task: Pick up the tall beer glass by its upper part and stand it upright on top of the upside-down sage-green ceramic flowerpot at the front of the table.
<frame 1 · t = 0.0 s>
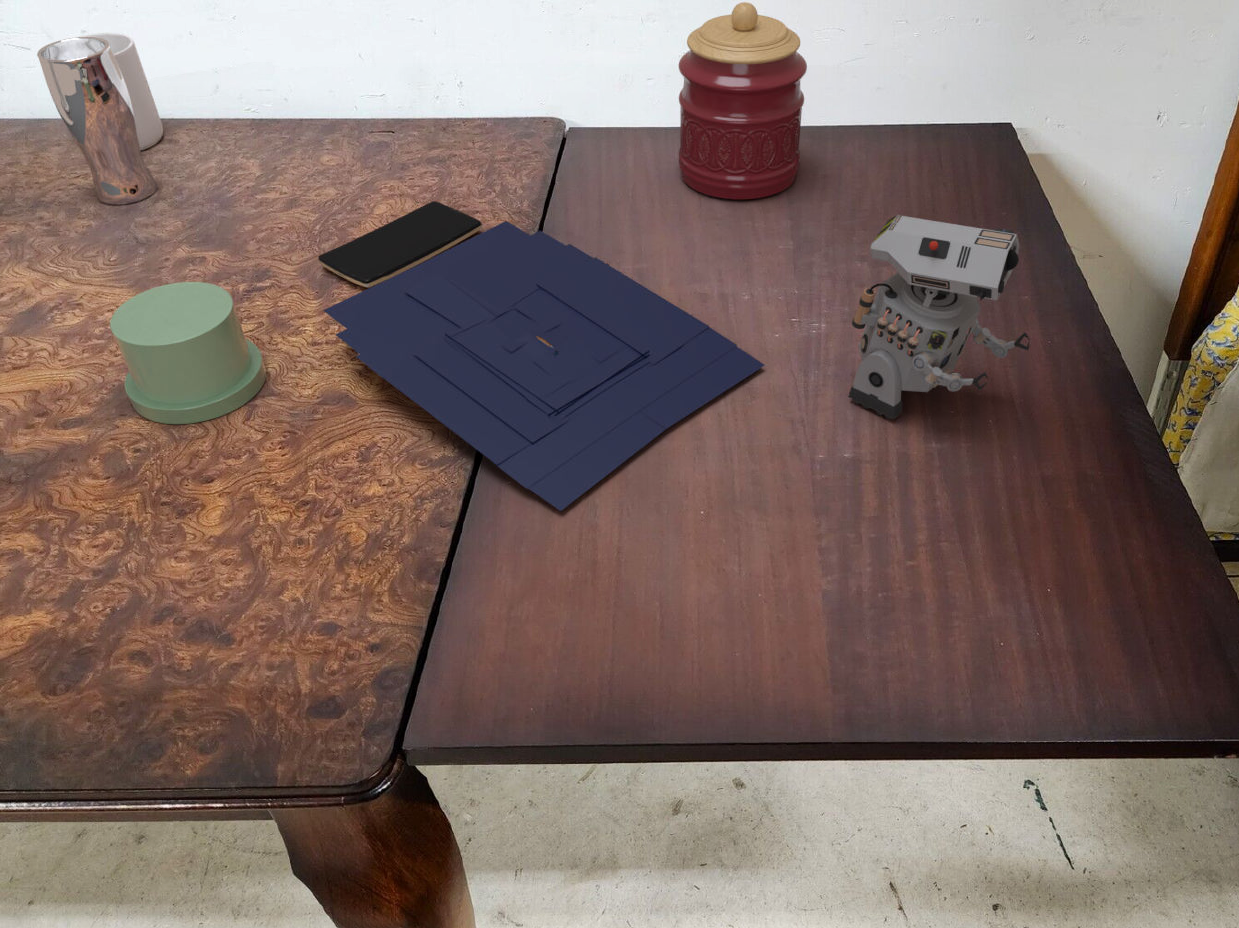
kitchen canister: (738, 176, 115), on the table
flowerpot: (199, 384, 88), on the table
mug: (128, 148, 122), on the table
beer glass: (128, 193, 114), on the table
figurine: (923, 399, 86), on the table
smartphone: (403, 250, 104), on the table
papers: (539, 366, 90), on the table
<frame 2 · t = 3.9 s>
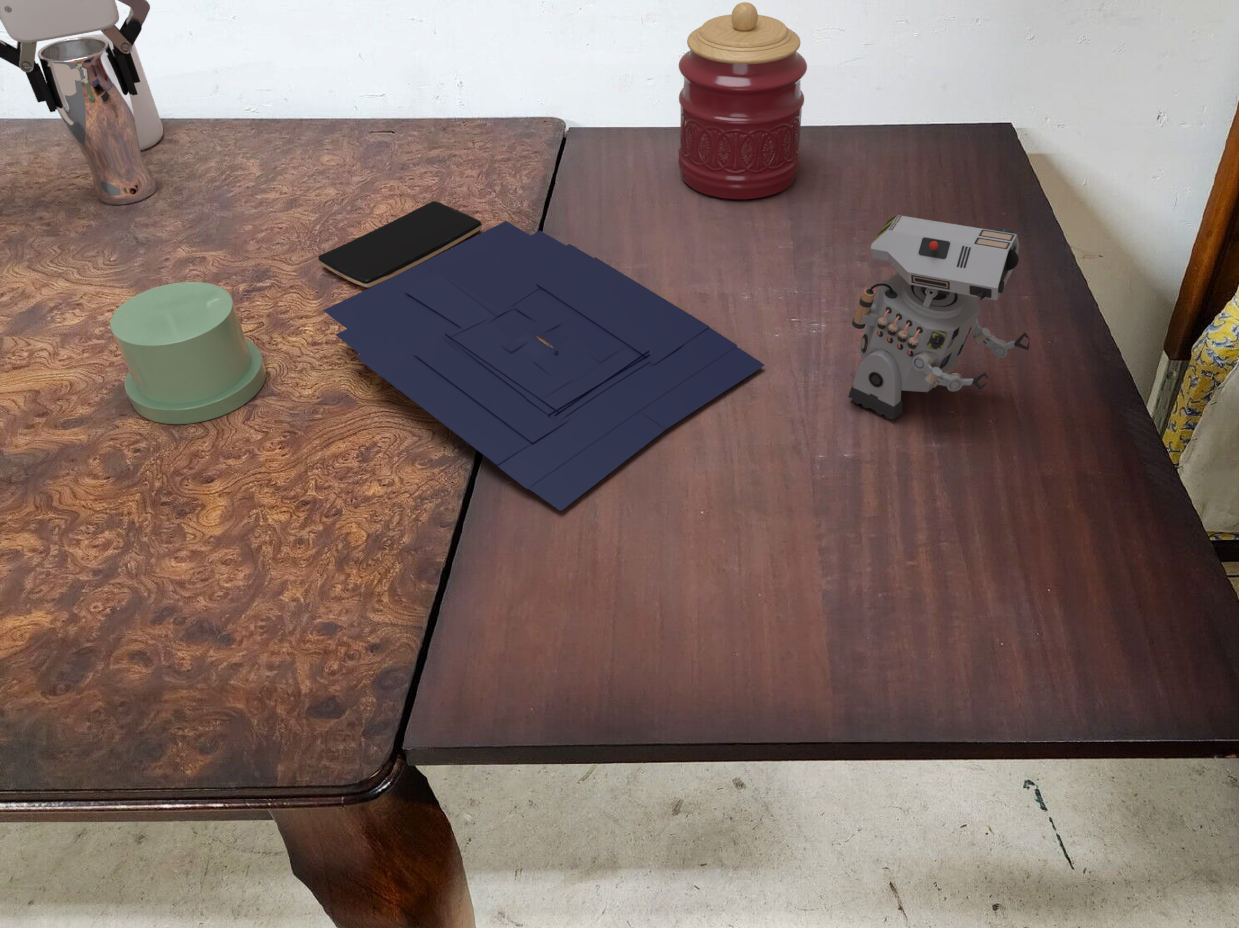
hand: (91, 97, 107), 10 cm above the table, tool pointing down, fingers closed on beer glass, 7 cm apart
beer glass: (128, 193, 114), on the table, touching gripper
everything else where it was.
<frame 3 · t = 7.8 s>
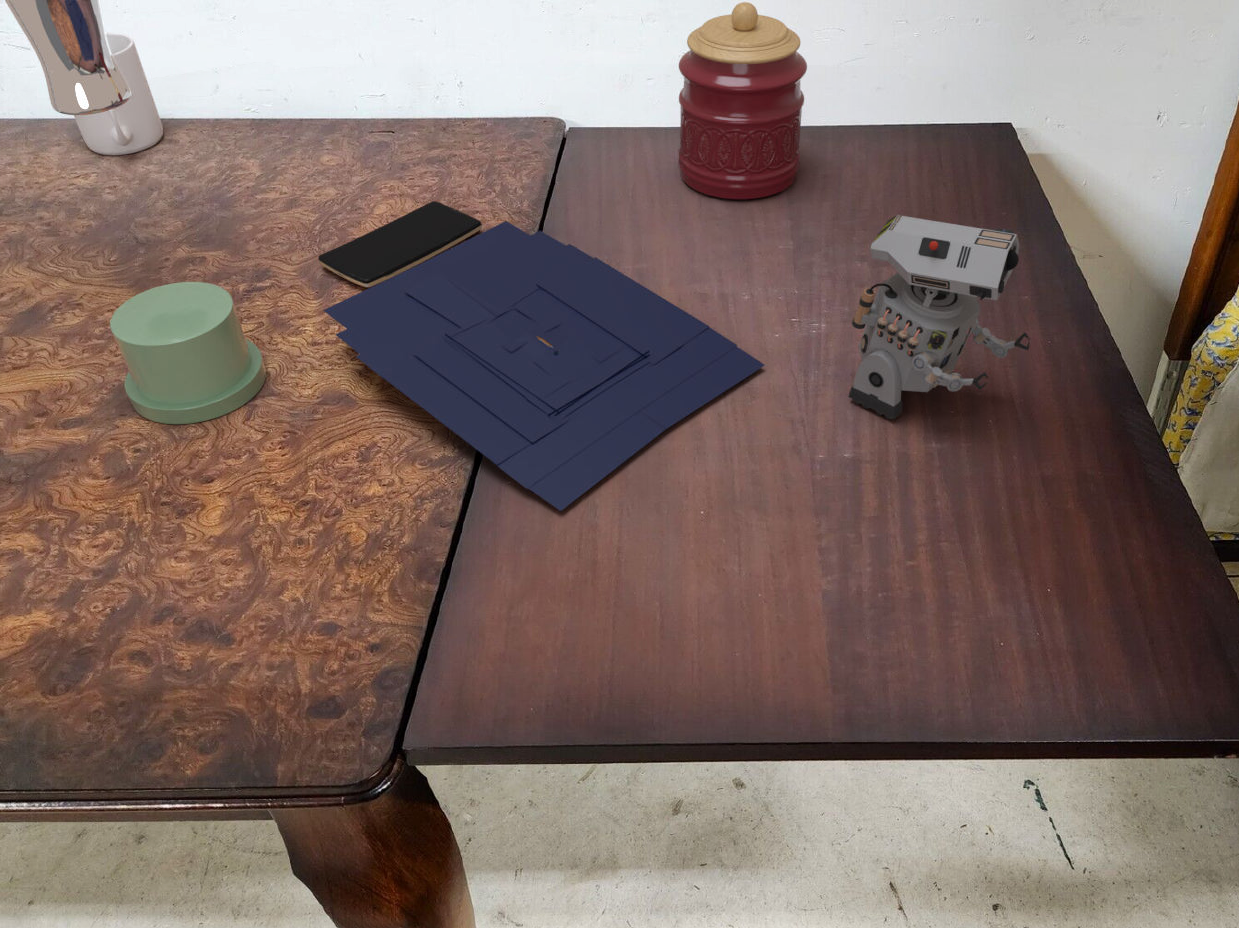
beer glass: (93, 103, 88), point 17 cm above the table, touching gripper
everything else where it was.
when the fingers open (17 cm above the table, at t = 12.0 s): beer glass stays where it is, resting on flowerpot.
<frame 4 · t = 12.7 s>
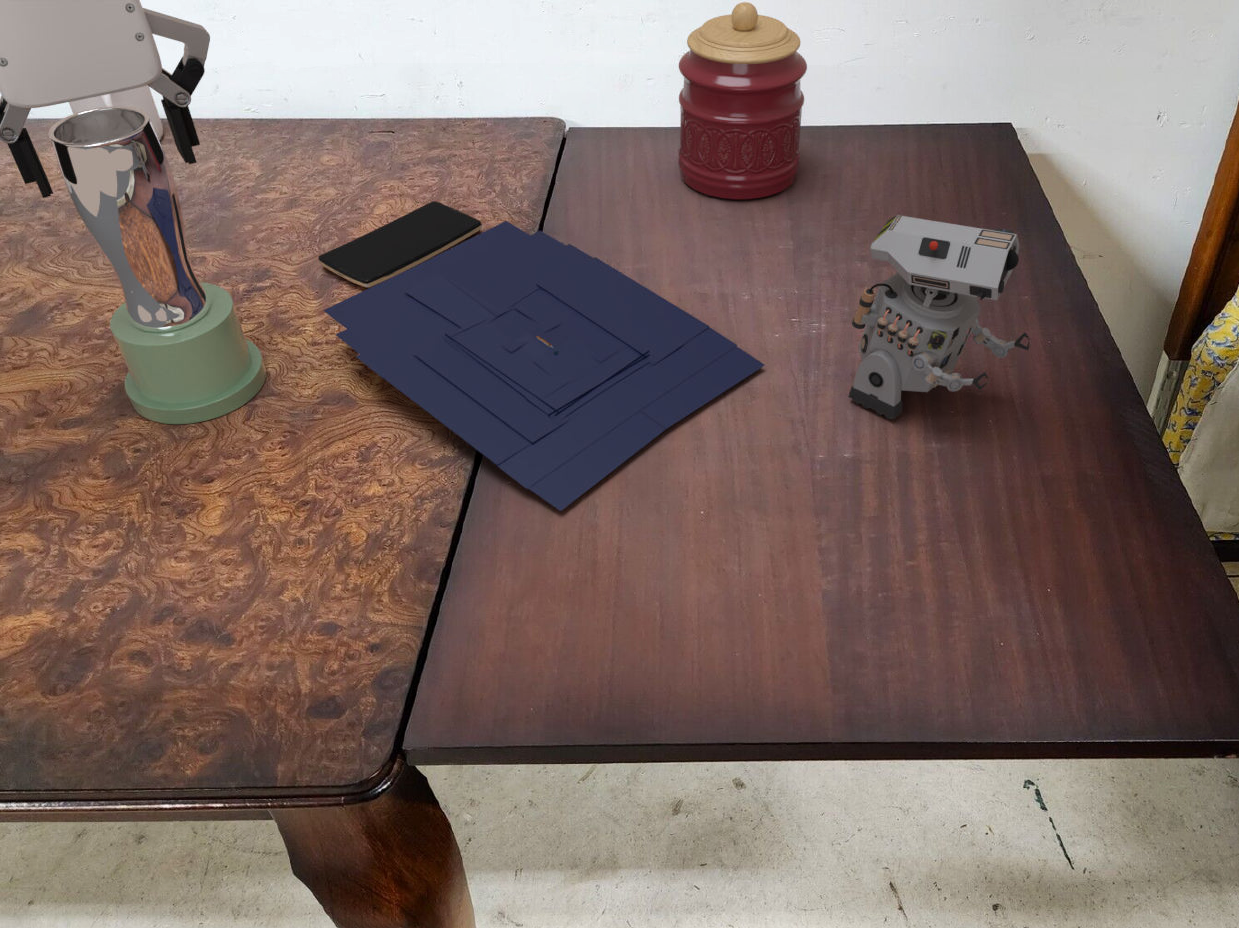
hand: (118, 172, 76), 19 cm above the table, tool pointing down, fingers open, 9 cm apart
flowerpot: (199, 384, 88), on the table, touching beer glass
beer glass: (171, 313, 84), point 7 cm above the table, touching flowerpot
everything else where it was.
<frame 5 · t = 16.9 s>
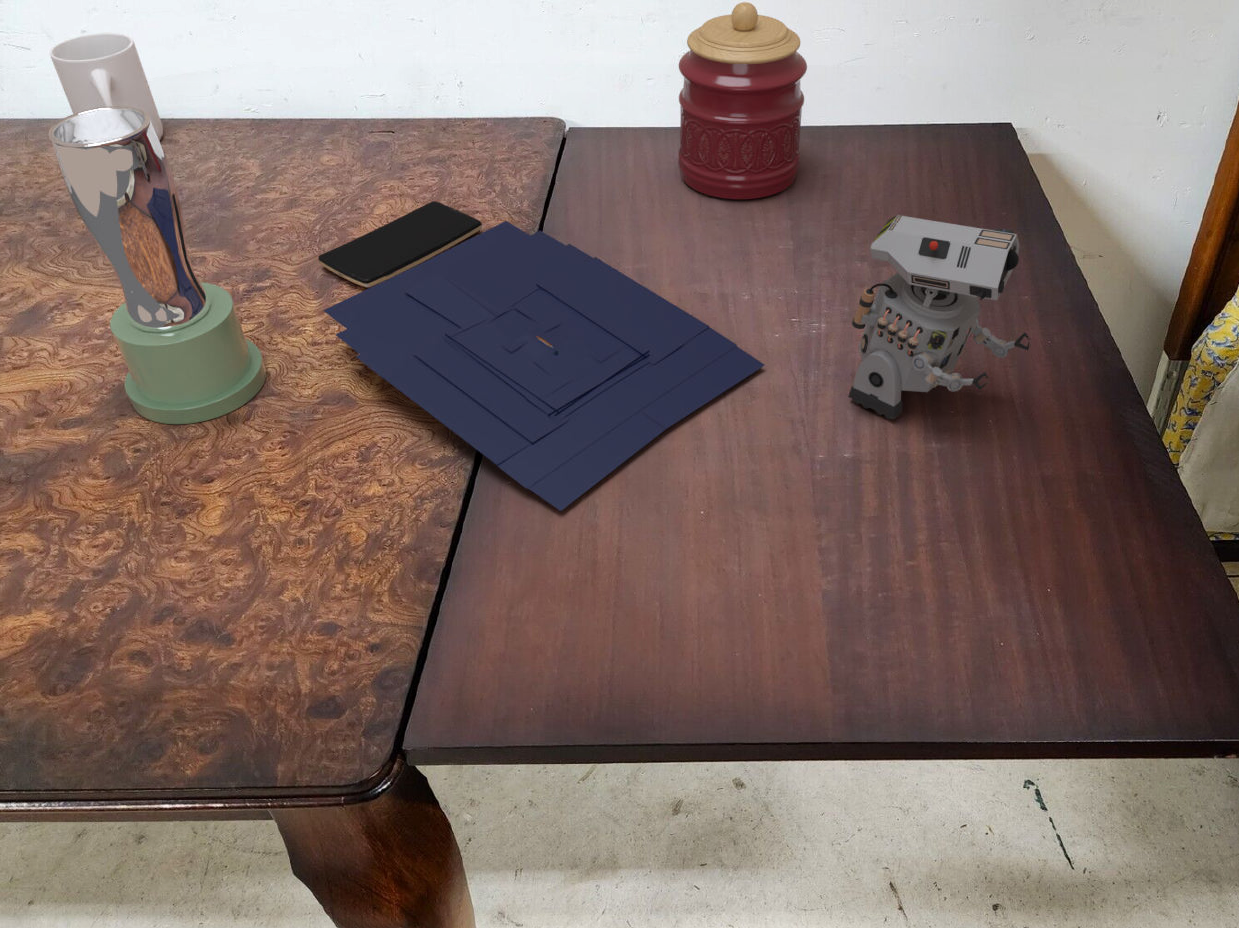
nothing on the table moved.
at the end: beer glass 0.1 cm off-centre on the flowerpot, point 6.8 cm above the flowerpot's base; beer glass tilted 0°; the gripper is holding nothing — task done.
